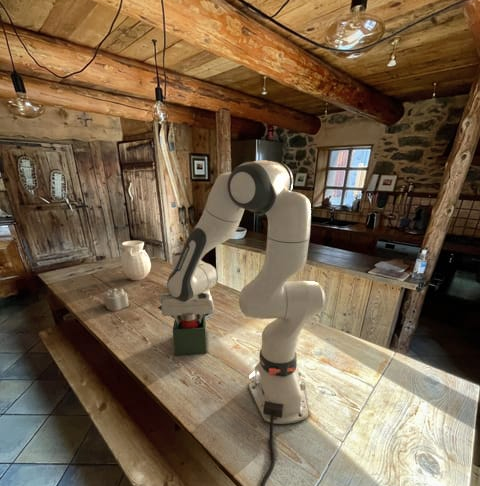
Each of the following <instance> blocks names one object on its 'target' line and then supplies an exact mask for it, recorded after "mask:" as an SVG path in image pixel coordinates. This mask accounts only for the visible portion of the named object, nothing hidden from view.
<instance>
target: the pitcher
mask: <svg viewBox="0 0 480 486" xmlns="http://www.w3.org/2000/svg"><path fill="white" fill-rule="evenodd" d="M121 245H122V248H123V249H124V252H122V254H121V255H120V258H121V268H122V272H123V273H124V275H125V276H126V277H127V278H129V279H130V280H132V281H141V280H144V279H145V278H146V277H147V276H148V275H149V273H150V271H151V269H152V264H151V259H150V256H149V254H148V253H147V252H146V249H144V245H145V241H143V240H128V241H127V240H126V241H124V242H121Z"/></svg>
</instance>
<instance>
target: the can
mask: <svg viewBox="0 0 480 486" xmlns="http://www.w3.org/2000/svg"><path fill="white" fill-rule="evenodd" d="M181 326H182V329H190V328H198V323H197V314H194V313H193V314H182V315H181Z"/></svg>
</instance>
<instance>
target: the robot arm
mask: <svg viewBox="0 0 480 486" xmlns="http://www.w3.org/2000/svg"><path fill="white" fill-rule="evenodd" d="M293 185H294V176H293V173H292V170H291V169H290V168H289V167H288V166H287V164H285V163H283V162H281V161H277V160H266V159H262V160H260V159H259V160H254V161H245V162H243V163H241V164H239V165H237V166H236V167H235V168H234V169H233V170H232V171H226V172H222V173H220V174H219V175H217V177H216V178H215V180H214V183H213V185H212V187H211V189H210V191H209V194H208V197H207V199H206V202H205V205H204V209H203V211H202V214H201V216H200V218H199V220H198V222H197V224H196V225H195V227H194V228H193V230H192V231H191V232H190V234H189V235H188V237H187V239H186V241H185V244H184V246H183V248H182V251H178V252H175V253H174V254H173V255H172V259H171V260H172V262H171V266H172V268H171V269H172V272H171V273H170V274H169V276H168V279H167V282H166V283H167V284H166V287H167V292H164V293H162V294H160V296H159V302H160V303H159V304H161V315H162V316H163V317H173V319H174V321H175V320H176V321H177V325H180V324H181V319H179V318H178V317H177V316H179V315H182V314H193V313H194V314H200V317H199V318H197V323H201V319H202V317H203V314H205V315H211V314H213V313H214V312H215V307H214V300H213V297H212V294H211V291H210V289H212V288H214V287H216V285H217V283H218V278H219V276H218V272H217V269H216V268H215V266H213V264H210V263H208V262H205V261H204V260H203V258H204V257H205V255H206V254H208V253H209V252H210V251H211V250H213V249H215V248H217V247H218V246H220V245H222V244H223V243H225V242H227V241H228V240H230V239H232V237H233V236H234V234H235V233H236V232H237V230H238V229H239V226H240V222H241V221H242V218H243V215H244V212H245V211H248V212H249V211H250V212H251V213H254V214H256V215H257V216H262V215H265V216H266V218H267V233H266V234H267V235H266V246H265V247H266V248H265V255H264V261H263V265H262V267H261V268H260V270H259V272H258V274H257V275H256V276H255V277H254V278H253V279H252V280H251V281H250V282H248V283H246V284H245V285H244V286H243V287H242V289H241V290H240V292H239V296H238V306H239V309H240V311H241V313H242V314H243V315H245V317H247V318H250V319H259V320H271V319H273V321H271V322H269V323H268V324H267V325H265V327H264V328H263V330H262V332H261V346H260V350H259V356H258V357H259V359H258V360H259V361H258V363H257V364H256V365H255V366H254V371H253V372H252V373H250V374H249V379H251V378H252V377H253V381H251V382H250V383H249V384H248V389H249V392H250V394H251V396H252V398H253V400H254V402H255V405H256V406H257V408H258V410H259V412H260V414H261V416H262V418H263V420H264V421H265V422H268V423H269V447H270V454H271V460H270V465H269V468H268V470H267V471H266V473H265V475H264V477H263V478H262V480H261V483H260V486H266V484H267V481H268V479H269V477H270V476H271V474H272V472H273V470H274V467H275V464H276V452H275V446H274V437H273V435H274V434H273V433H274V424H275V425H286V424H294V423H298V422H301V421H303V420H305V419H306V418H308V417H309V410H308V405H307V400H306V399H307V398H306V396H305V395H306V394H305V391H306V384H305V382H303V380H302V379H301V378H300V377H302V372H301V371H298V370H299V369H298V363H297V362H298V359H297V346H298V345H297V343H298V339H299V335H300V333H301V332H302V330H303V329H304V327H305V326H306V324H307V323H308V322H309V321H310V320H312V319H313V318H314V317H315V316H317V315H320V313H321V312H322V311H323V309H324V308H325V305H326V300H327V299H326V293H325V291H324V287H322V285H320V283H318V282H315V281H310V280H309V281H308V280H303V279H302V280H289V279H290V278H291V277H293V276H295V275H297V274H298V273H300V272H301V271H302V270H303V269H304V268H305V266H306V264H307V260H308V252H309V245H310V238H311V225H312V215H311V214H312V210H311V209H312V208H311V202H310V199H309V198H308V197H307V196H306V195H304V194H303V193H301V192H297V191H292V190H293ZM274 319H275V320H274Z"/></svg>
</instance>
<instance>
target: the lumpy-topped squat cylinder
mask: <svg viewBox="0 0 480 486" xmlns="http://www.w3.org/2000/svg"><path fill="white" fill-rule="evenodd" d="M128 297H129V296H128V293H127V292H126V291H125V290H124V289H123V288H111V289H108V290H106V291H105V292H103V299H104V304H105V307H106V309H107V310H109V311H112V312H118V311H120V310H122V309H125V308H128V307H129V305H130V303H129V298H128Z"/></svg>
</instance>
